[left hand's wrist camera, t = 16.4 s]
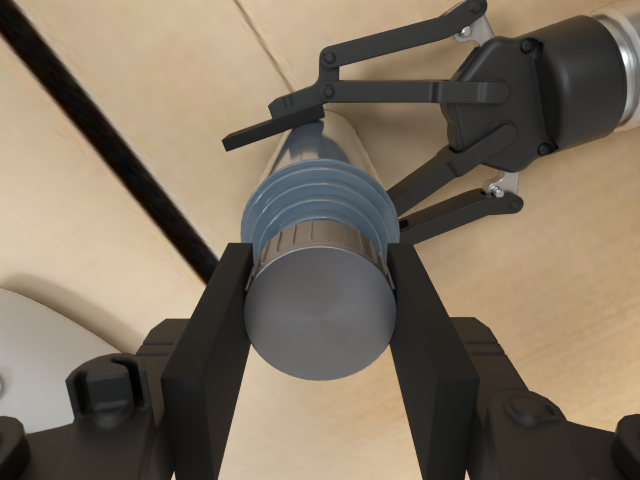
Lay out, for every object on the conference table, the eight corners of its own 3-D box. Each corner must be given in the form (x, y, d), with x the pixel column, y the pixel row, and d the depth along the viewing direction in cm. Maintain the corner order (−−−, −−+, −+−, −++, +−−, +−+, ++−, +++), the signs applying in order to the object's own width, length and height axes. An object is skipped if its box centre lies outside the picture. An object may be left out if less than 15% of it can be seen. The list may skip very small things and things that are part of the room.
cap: (402, 229, 14) (416, 257, 12) (372, 349, 15) (381, 392, 13) (260, 207, 14) (249, 231, 12) (244, 331, 15) (233, 371, 13)
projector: (8, 479, 48) (-113, 642, 35) (-114, 294, 40) (-334, 412, 27) (206, 442, 47) (159, 599, 33) (119, 240, 39) (9, 337, 25)
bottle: (361, 188, 37) (429, 393, 14) (283, 193, 37) (225, 403, 14) (358, 107, 35) (435, 193, 12) (275, 112, 35) (190, 209, 12)
